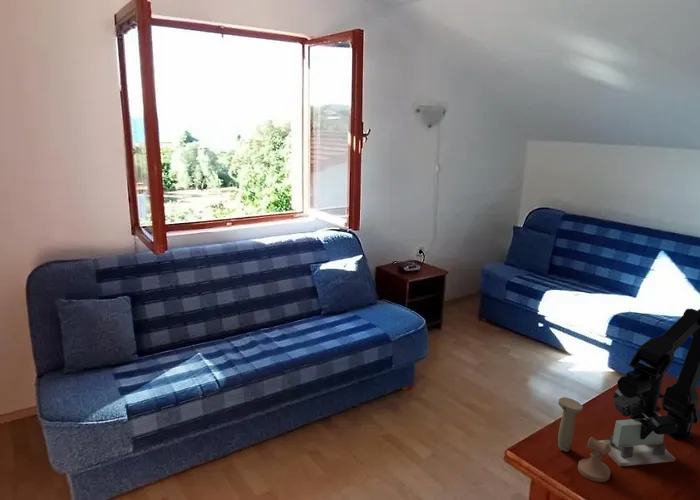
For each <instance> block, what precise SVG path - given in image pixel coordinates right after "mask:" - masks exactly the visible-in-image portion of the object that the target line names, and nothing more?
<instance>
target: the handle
mask: <svg viewBox="0 0 700 500" xmlns="http://www.w3.org/2000/svg"><path fill="white" fill-rule="evenodd" d="M558 406H560V408H561V409H562V413H561V419H560V420H561V421H560V424H559V429H558V437H557V447H558V449H559V451H562V452H565V453H567V452H568V451H570V450H571V446H572V443H573V440H574V435H575V426H576V425H575V423H576V415H577V414H581V413H582V412H583V408H584V406H583V404H581V403H580V402H579V401H577V400H575V399H573V398H569V397H565V396H563V397H561V398H559V399H558Z"/></svg>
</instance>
